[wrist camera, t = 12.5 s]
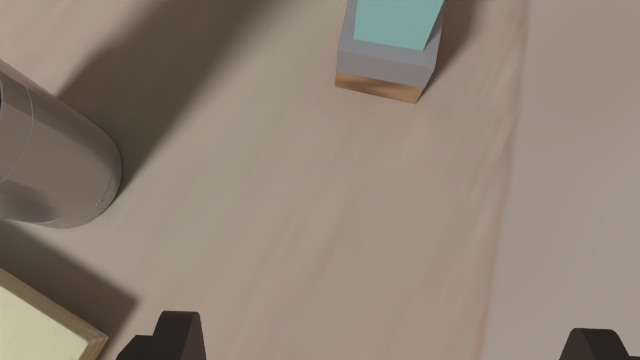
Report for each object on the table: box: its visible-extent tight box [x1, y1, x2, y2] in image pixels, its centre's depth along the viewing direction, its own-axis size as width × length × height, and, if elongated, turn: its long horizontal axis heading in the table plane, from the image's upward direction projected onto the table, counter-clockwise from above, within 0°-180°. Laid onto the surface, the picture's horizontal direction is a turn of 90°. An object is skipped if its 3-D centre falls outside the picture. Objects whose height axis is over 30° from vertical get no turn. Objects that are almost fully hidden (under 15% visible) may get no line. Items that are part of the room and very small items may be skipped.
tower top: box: [336, 0, 447, 88], centre depth 41 cm, size 7×7×4 cm
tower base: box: [335, 68, 424, 104], centre depth 45 cm, size 7×7×4 cm
